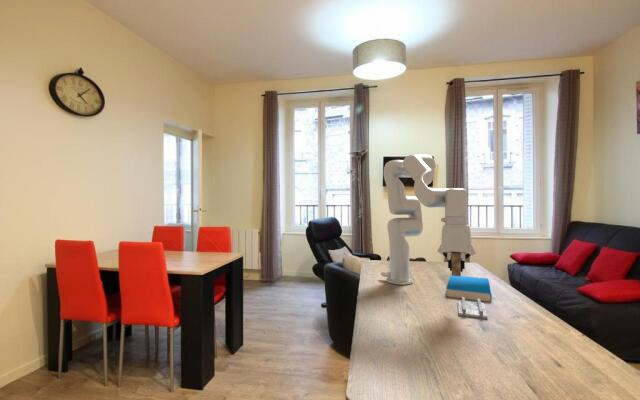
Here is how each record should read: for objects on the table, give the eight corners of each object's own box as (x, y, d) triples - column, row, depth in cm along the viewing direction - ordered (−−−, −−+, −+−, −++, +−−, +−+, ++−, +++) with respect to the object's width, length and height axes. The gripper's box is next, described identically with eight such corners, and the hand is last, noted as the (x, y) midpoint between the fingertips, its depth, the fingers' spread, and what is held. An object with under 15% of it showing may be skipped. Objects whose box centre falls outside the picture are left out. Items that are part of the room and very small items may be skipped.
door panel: (451, 275, 116) (451, 253, 116) (452, 270, 123) (451, 250, 123) (460, 276, 114) (460, 254, 114) (460, 271, 122) (460, 250, 122)
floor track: (487, 319, 108) (487, 312, 108) (458, 315, 112) (458, 308, 112) (483, 305, 122) (483, 299, 122) (458, 302, 126) (458, 296, 126)
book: (446, 288, 134) (449, 274, 157) (446, 298, 134) (449, 282, 157) (492, 293, 127) (489, 277, 149) (492, 303, 127) (489, 286, 149)
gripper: (431, 221, 119) (432, 270, 119) (481, 222, 112) (481, 274, 112) (433, 220, 125) (433, 267, 125) (479, 221, 119) (480, 270, 119)
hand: (456, 270), depth 119 cm, fingers closed on door panel, 3 cm apart
